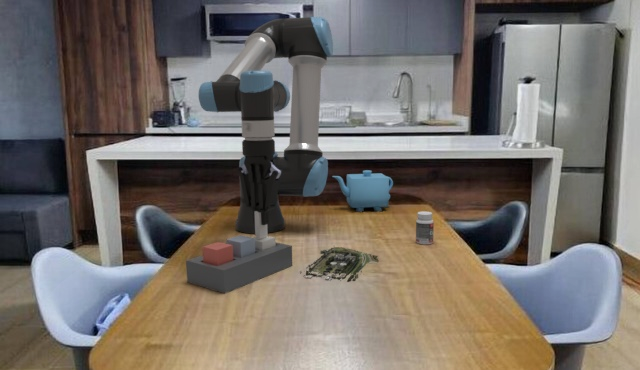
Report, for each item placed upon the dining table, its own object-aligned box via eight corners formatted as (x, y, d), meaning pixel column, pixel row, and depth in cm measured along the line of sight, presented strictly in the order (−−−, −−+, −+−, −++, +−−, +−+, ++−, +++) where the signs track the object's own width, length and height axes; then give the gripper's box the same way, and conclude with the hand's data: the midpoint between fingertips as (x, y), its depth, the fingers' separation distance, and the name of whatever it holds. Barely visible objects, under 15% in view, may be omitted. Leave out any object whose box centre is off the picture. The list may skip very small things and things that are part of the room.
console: (187, 281, 119) (186, 260, 118) (256, 257, 136) (255, 238, 135) (224, 293, 111) (223, 270, 111) (292, 265, 129) (291, 245, 128)
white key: (248, 255, 128) (248, 238, 128) (261, 250, 132) (261, 234, 131) (262, 258, 126) (262, 241, 125) (275, 253, 129) (275, 237, 128)
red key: (203, 264, 117) (202, 246, 116) (219, 259, 121) (218, 241, 120) (217, 268, 114) (216, 250, 114) (233, 262, 118) (232, 245, 117)
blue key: (226, 256, 123) (226, 239, 122) (241, 251, 126) (240, 235, 125) (241, 259, 120) (240, 242, 119) (255, 254, 123) (254, 238, 123)
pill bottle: (433, 245, 144) (433, 215, 143) (415, 244, 145) (416, 214, 144) (433, 240, 149) (433, 211, 148) (416, 239, 150) (416, 210, 149)
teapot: (389, 204, 198) (389, 167, 195) (396, 211, 187) (396, 172, 184) (330, 206, 196) (329, 169, 193) (333, 213, 185) (333, 173, 182)
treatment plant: (373, 286, 116) (373, 270, 115) (292, 282, 119) (292, 266, 118) (381, 253, 140) (381, 239, 139) (313, 250, 143) (313, 237, 143)
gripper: (226, 138, 125) (231, 236, 129) (268, 141, 117) (271, 245, 121) (249, 136, 131) (252, 230, 135) (290, 138, 123) (292, 237, 127)
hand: (261, 237), depth 128 cm, fingers closed
